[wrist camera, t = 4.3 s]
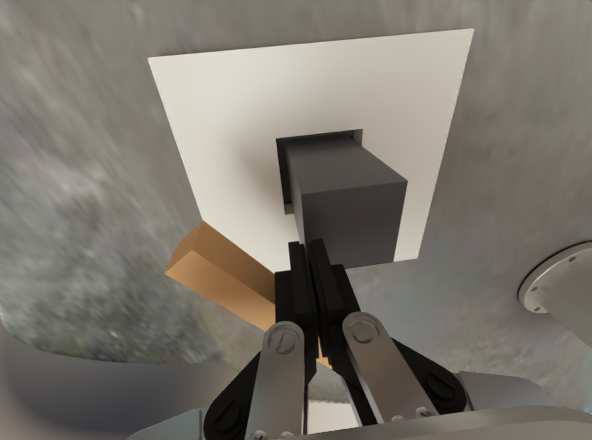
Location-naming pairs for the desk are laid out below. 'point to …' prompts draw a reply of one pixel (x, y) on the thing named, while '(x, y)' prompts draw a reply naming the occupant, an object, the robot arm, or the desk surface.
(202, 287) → the clip
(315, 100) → the socket block
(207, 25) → the desk surface
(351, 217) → the plug
